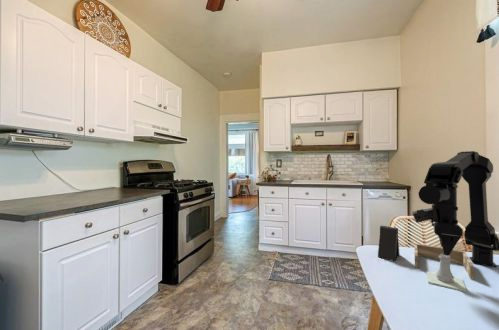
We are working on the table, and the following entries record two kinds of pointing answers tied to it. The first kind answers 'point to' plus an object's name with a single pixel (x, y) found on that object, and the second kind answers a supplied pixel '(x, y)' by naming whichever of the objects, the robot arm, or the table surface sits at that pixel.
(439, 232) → the robot arm
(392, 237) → the phone stand
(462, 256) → the open box
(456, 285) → the sage mat
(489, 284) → the table surface
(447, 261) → the rook chess piece
